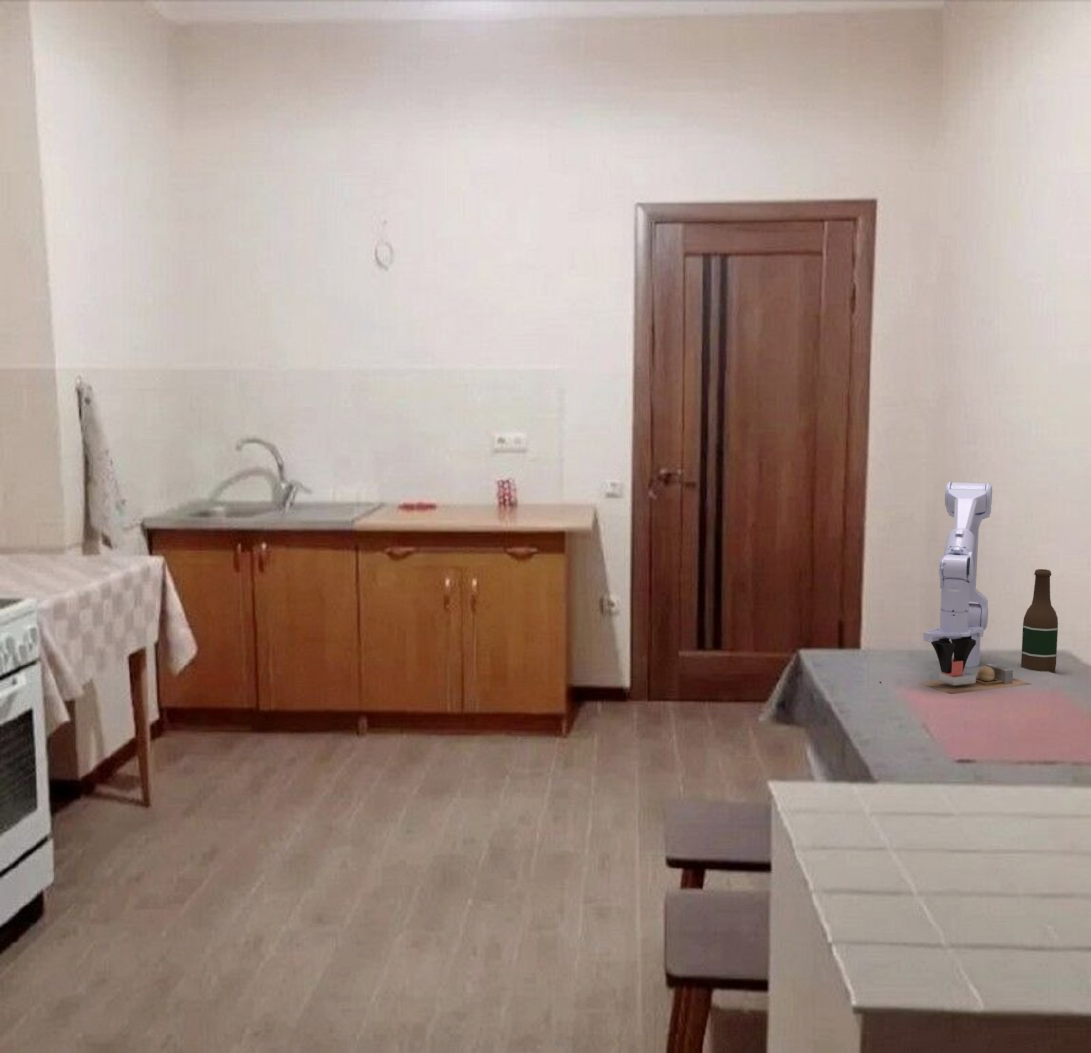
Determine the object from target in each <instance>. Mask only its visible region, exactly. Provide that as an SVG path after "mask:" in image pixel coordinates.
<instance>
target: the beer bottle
mask: <svg viewBox="0 0 1091 1053" xmlns="http://www.w3.org/2000/svg"><path fill="white" fill-rule="evenodd" d="M1033 575H1034V576H1035V578H1034V586H1033V596H1032V601H1031V604H1030V606H1029V607H1028V608H1027V610H1026V611H1025V614H1024V617H1023V621H1022V634H1021V635H1022V636H1021V639H1022V640H1021V659H1020V663H1021V664H1020V668H1023V669H1026V670H1028V671H1036V672H1049V673H1051V674H1055V673H1056V668H1057V652H1058V637H1059V636H1058V633H1059V632H1058V631H1059V630H1058V629H1059V621H1058V620H1059V619H1058V618H1059V617H1058V616H1057V611H1056V610H1055V609H1054V607H1053V606H1052V602H1051V601H1052V600H1051V576H1052V571H1051V570H1050V569H1046V568H1045V569H1043V568H1038V569H1035V570H1034V573H1033Z"/></svg>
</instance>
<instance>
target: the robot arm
mask: <svg viewBox="0 0 1091 1053" xmlns="http://www.w3.org/2000/svg"><path fill="white" fill-rule="evenodd" d="M992 502H993V485H992V484H991V483H990V482H986V483H985V482H984V483H979V482H978V483H976V482H953V481H949V482H947V483H946V485H945V491H944V506H945V508H946V512H947V513H948V514H947V515H948V517H952V518H953V528H952V529H951V530H949V531H948V533H947V535H946V540H945V546H944V552H943V556H942V555H941V556H940V559H939V564H938V567H939V568H938V575H939V588H940V589H941V591H940V612H939V614H940V616H939V628H936V629H932V630H931V629H930V630H927V631H923V641H924V642H927V643H930V644H931V645H932V648H933V649H934V651H935V654H936V662H938V663H939V667H940V671H941V672H940V673H942V672H944V673H947V674H949V673H950V671H951V664H952V658H955V659H959V660H962V661H963V671H965V668H967V667H978V666H980V663H981V662H980V661H981V660H980V659H981V658H980V656H981V655H980V654H981V638H983V637H984V631H985V630H986V629H987V628H988V622H989V621H988V620H989V606H988V603H989V602H988V598H987V597H986V596H985V595H984V594H983V593H982V592H981V591H979V590H978V589H977V570H978V555H979V554H978V552H979V550H978V548H979V529H980V525H981V524H982V521H983V520H985V519H988V518H990V516H991V513H992Z"/></svg>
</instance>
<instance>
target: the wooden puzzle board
mask: <svg viewBox="0 0 1091 1053" xmlns="http://www.w3.org/2000/svg"><path fill="white" fill-rule="evenodd" d="M985 666H988V667H991V668H992V669H993V670H994V672H995V677H994V679H993V680H992V681H990V682H983V681H981V680H980V679H979V677H978V675H976V683H971V684H963V685H955V686H953V685H950V684H947V683H944V682H941V681H939V679H938V680H931V681H924V682H923V681H922V682H919V684H921V685H924V686H926V687H930V688H933V689H935V690H938V691H940V692H943V693H946V694H950V695H955V694H962V693H972V692H978V691H988V690H995V689H996V690H997V689H1002V688H1013V687H1020V686H1027V685H1031V682H1027V681H1024V680H1020V679H1018V678H1013V675H1014V674H1013V673H1014V672H1013V671H1014V669H1012V668H1008V667H1005V666H1002V665H1001V666H1000V665H998V664H994V663H989V664H985Z"/></svg>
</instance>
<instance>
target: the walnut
mask: <svg viewBox="0 0 1091 1053" xmlns="http://www.w3.org/2000/svg"><path fill="white" fill-rule="evenodd" d="M977 676H978V677H979V679H980V680H981V681H983V682H990V681H992V680H993V679H994V677H995V672H994V670H993V669H992V668H991V667H988V666H986V665H985V666H982V667H980V668H979V670H978V672H977Z"/></svg>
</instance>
